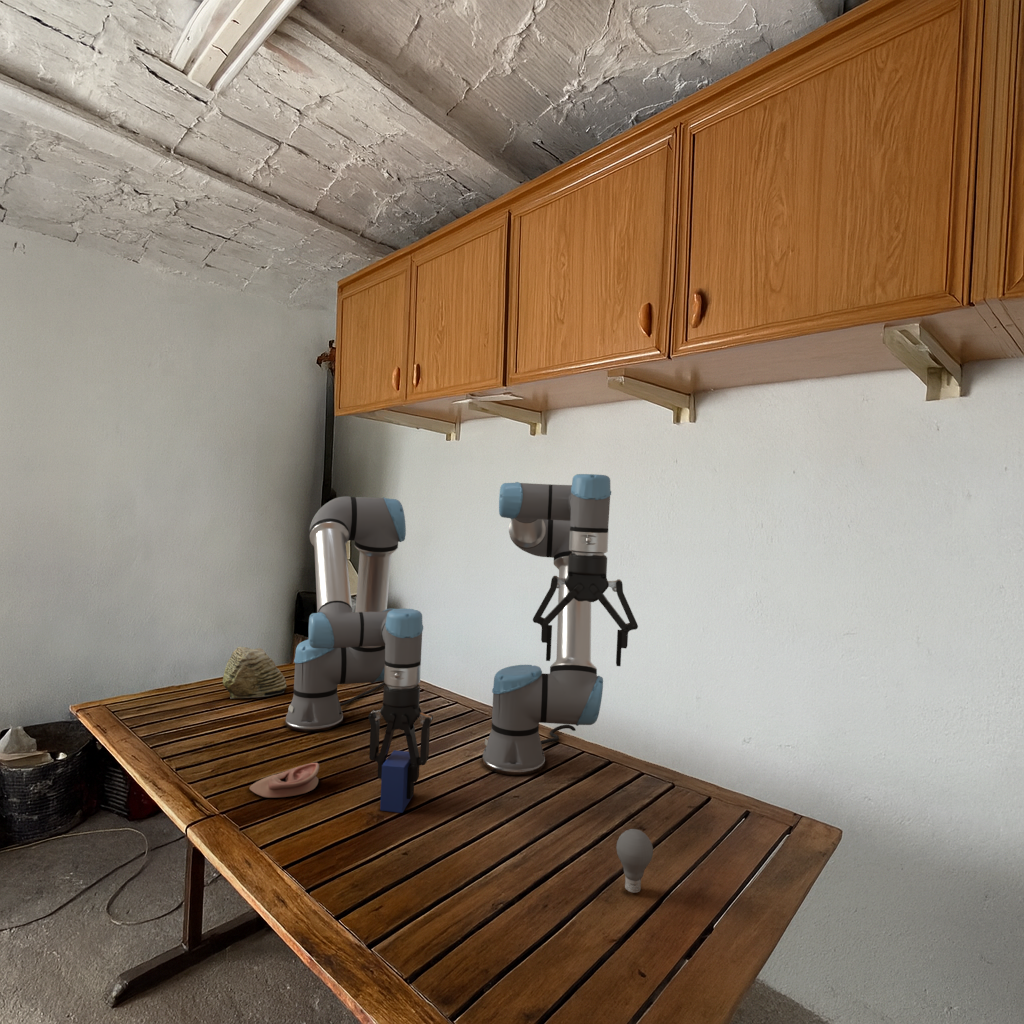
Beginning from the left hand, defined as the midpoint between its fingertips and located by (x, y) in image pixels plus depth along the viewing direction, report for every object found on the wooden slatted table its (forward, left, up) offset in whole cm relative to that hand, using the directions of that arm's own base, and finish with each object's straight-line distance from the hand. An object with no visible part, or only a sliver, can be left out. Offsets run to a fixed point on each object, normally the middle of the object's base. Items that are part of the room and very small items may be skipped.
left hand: (397, 794), depth 133 cm
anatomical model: (+12, -23, -2) cm, 26 cm away
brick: (0, 0, -2) cm, 2 cm away
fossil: (-16, -85, -2) cm, 86 cm away
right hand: (-16, +34, +32) cm, 49 cm away
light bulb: (-6, +51, -2) cm, 52 cm away
